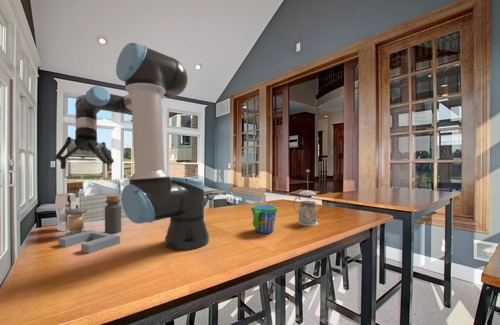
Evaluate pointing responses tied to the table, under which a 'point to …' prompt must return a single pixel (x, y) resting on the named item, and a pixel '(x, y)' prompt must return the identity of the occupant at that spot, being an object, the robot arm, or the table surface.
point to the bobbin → (75, 220)
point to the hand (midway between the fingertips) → (86, 177)
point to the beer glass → (64, 209)
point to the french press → (307, 208)
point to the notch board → (97, 243)
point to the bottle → (113, 215)
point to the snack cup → (264, 218)
